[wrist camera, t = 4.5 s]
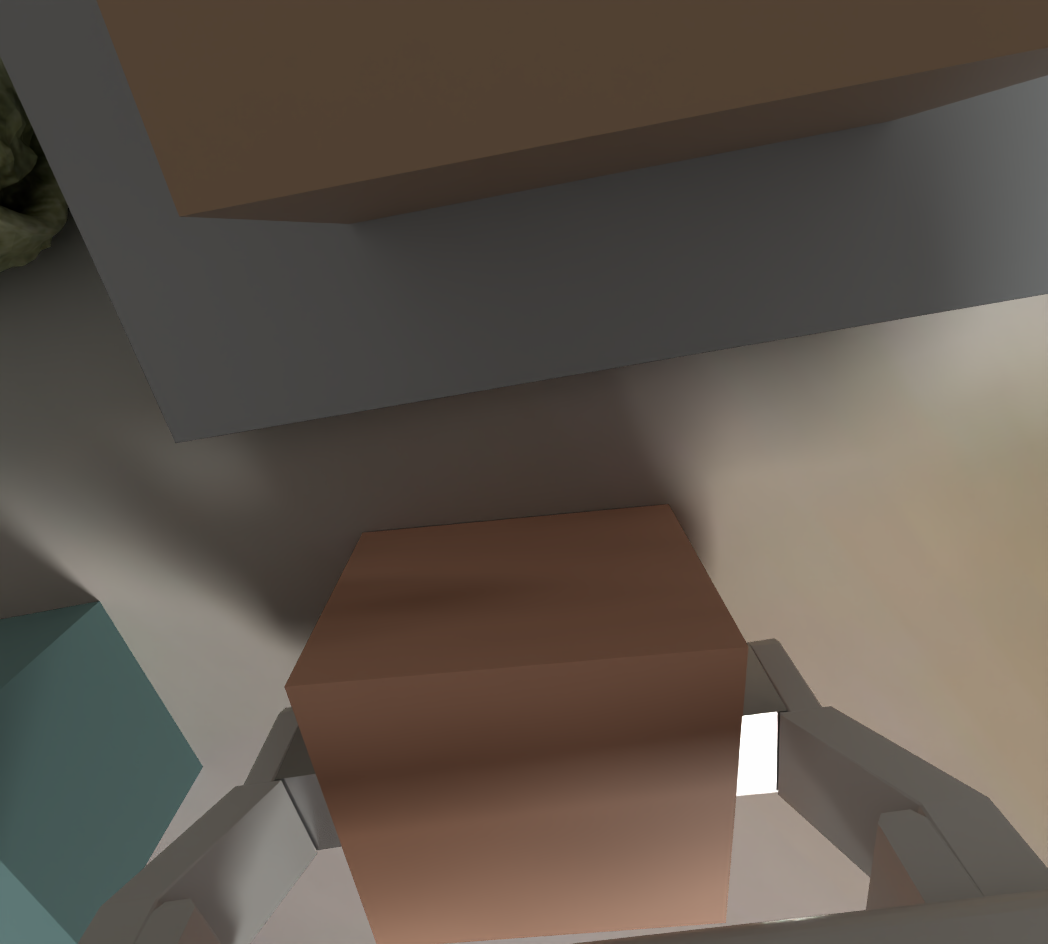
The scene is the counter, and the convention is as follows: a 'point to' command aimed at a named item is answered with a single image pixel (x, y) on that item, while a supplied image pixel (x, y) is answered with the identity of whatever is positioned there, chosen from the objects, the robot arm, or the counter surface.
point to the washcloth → (24, 185)
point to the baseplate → (525, 182)
